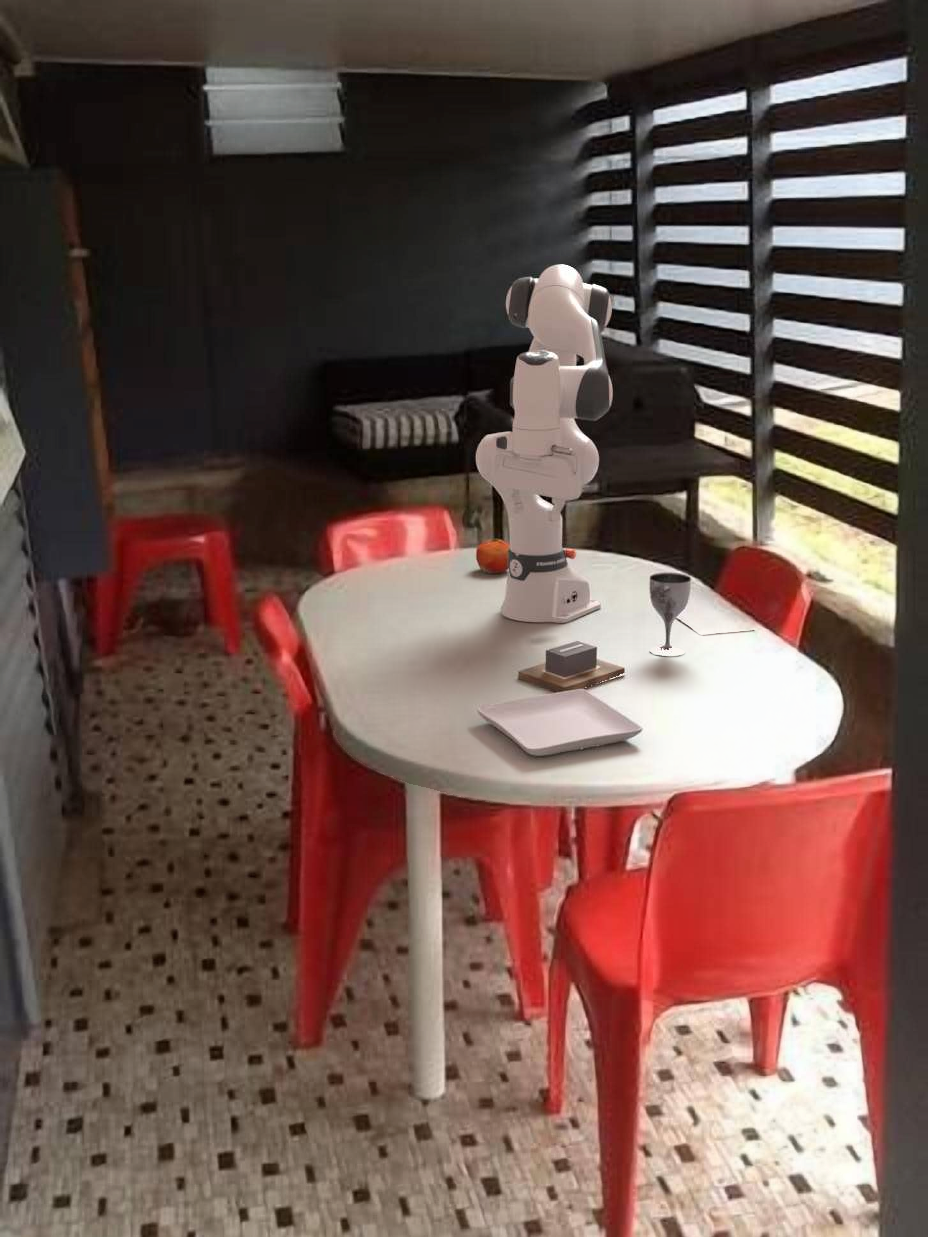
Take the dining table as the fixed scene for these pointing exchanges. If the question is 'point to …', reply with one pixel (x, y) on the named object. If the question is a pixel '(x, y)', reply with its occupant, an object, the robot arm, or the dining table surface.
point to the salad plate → (559, 722)
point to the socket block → (571, 659)
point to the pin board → (570, 677)
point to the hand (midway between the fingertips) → (535, 516)
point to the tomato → (493, 556)
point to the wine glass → (669, 597)
